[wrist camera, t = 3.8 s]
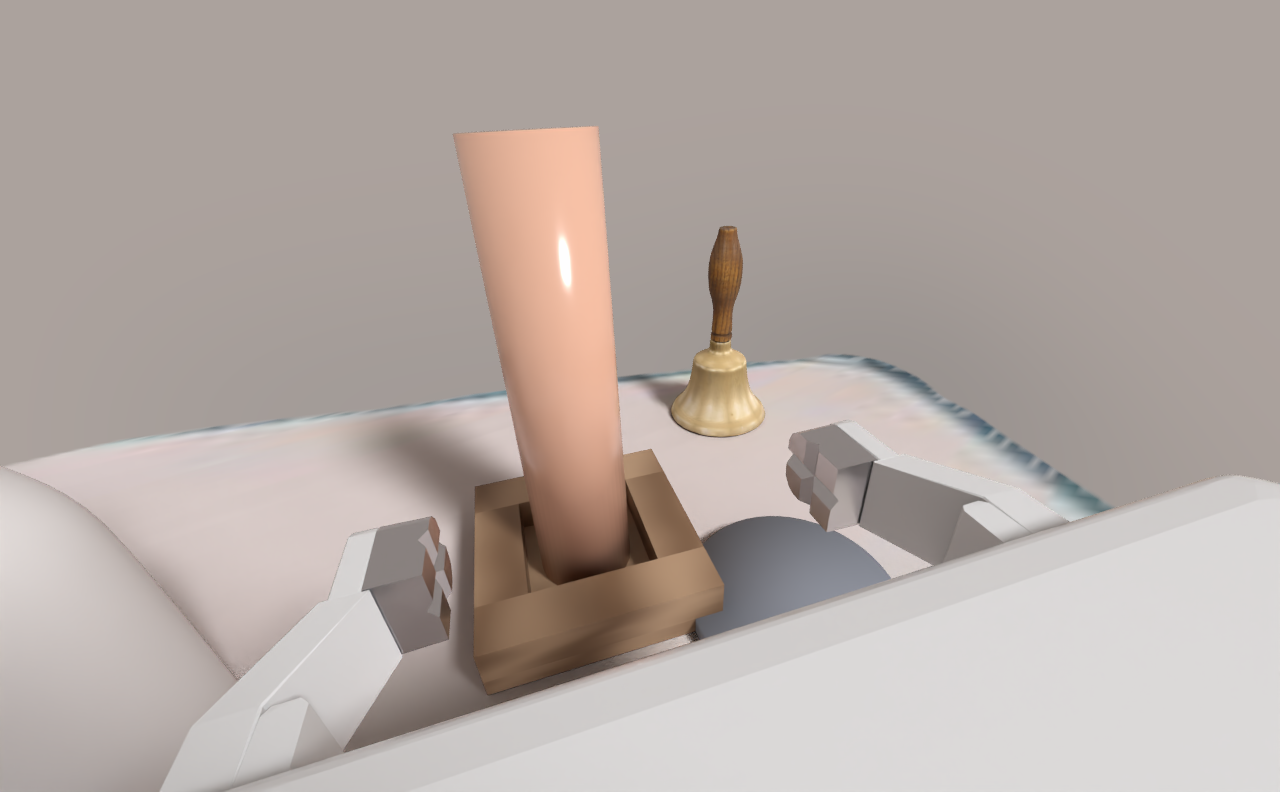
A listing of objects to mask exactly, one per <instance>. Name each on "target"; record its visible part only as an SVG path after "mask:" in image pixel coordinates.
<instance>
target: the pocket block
mask: <svg viewBox="0 0 1280 792" xmlns="http://www.w3.org/2000/svg"><path fill="white" fill-rule="evenodd" d="M623 460H624V473H625V487H626V500H627V513H628V527H629V540H630V558H629V562H628V564H627V566H626V567H625V568H621V569H618V570H614V571H610V572H607V573H603V574H599V575H595V576H592V577H588V578H584V579H580V580H577V581H573V582H569V583H565V584H562V585H556V584H555V583H553V582H552V581H551V580H550V579H549V578H548V577H547V575H546V573H545V572H544V569H543V565H542V560H541V555H540V550H539V546H538V541H537V536H536V531H535V526H534V522H533V517H532V512H531V507H530V502H529V498H528V493H527V488H526V483H525V478H524V476H523V477H518V478H513V479H509V480H504V481H499V482H495V483H490V484H485V485H481V486H476V487H475V544H474V654H473V658H474V660H475V663H476V666H477V668H478V671H479V674H480V676H481V679H482V682H483V685H484V687H485V690H486V693H487V695H490V694H493V693H496V692H500V691H503V690H506V689H509V688H513V687H516V686H519V685H522V684H526V683H529V682H532V681H535V680H539V679H542V678H545V677H548V676H552V675H555V674H558V673H561V672H565V671H568V670H571V669H574V668H578V667H581V666H584V665H587V664H591V663H594V662H597V661H600V660H603V659H607V658H610V657H613V656H616V655H620V654H623V653H626V652H629V651H633V650H636V649H639V648H642V647H646V646H649V645H652V644H655V643H659V642H662V641H665V640H668V639H672V638H675V637H678V636H681V635H685V634H688V633H691V632H694V631H695V628H696V619H697V618H700V617H704V616H707V615H710V614H714V613H717V612H720V611H723V598H724V583H723V581H722V580H721V578H720V576H719V574H718V572H717V570H716V568H715V567H714V565H713V563H712V561H711V559H710V557H709V555H708V553H707V552H706V550H705V548H704V546H703V544H702V542H701V540H700V539H699V537H698V535H697V533H696V531H695V529H694V527H693V525H692V524H691V522H690V520H689V518H688V516H687V514H686V512H685V511H684V509H683V507H682V505H681V503H680V501H679V499H678V498H677V496H676V494H675V492H674V490H673V488H672V486H671V484H670V483H669V481H668V479H667V477H666V475H665V473H664V471H663V470H662V468H661V466H660V464H659V462H658V460H657V458H656V456H655V455H654V453H653V451H652V449H648V450H644V451H639V452H634V453H630V454H625V455H623Z"/></svg>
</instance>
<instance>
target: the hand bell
mask: <svg viewBox="0 0 1280 792" xmlns="http://www.w3.org/2000/svg"><path fill="white" fill-rule="evenodd" d="M742 268H743V260H742V253H741V248H740V244H739V240H738V236H737V228H736V227H733V226H723V227H720V229H719V233H718V236H717V239H716V242H715V245H714V247H713V250H712V253H711V256H710V262H709V271H708V272H709V273H708V278H709V290H710V294H711V298H712V303H713V323H712V333H711V340H710V347H709V348H708V349H705V350H702V351H700V352H698V353H697V354H696V356H695V357H694V360H693V367H692V372H691V377H690V380H689V383H688V386H687V388H686V389H685V391H684V392H682V393H681V394H680V395H679V396H678V397H677V398H676V399H675V401H674V403H673V405H672V407H671V413H672V416H673V418H674V420H675V421H676V422H677V423H678V424H680V425H681V426H682V427H683V428H685V429H687V430H690V431H692V432H695V433H698V434H701V435H707V436H715V437H728V436H736V435H741V434H744V433H747V432H750V431H752V430H754V429H755V428H757V427H758V426H759V425H760V424H761V423H762V421H763V420H764V417H765V411H764V408H763V405H762V403H761V402H760V400H759V399H758V398H757V397H756V396H755V395H753V393H752V391H751V390H750V387H749V383H748V378H747V368H746V359H745V357H744V356H743V355H742V354H741V353H740V352H738V351H736V350H733V349H731V337H732V333H731V331H732V312H733V306H734V303H735V300H736V297H737V295H738V292H739V289H740V284H741V278H742Z"/></svg>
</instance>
